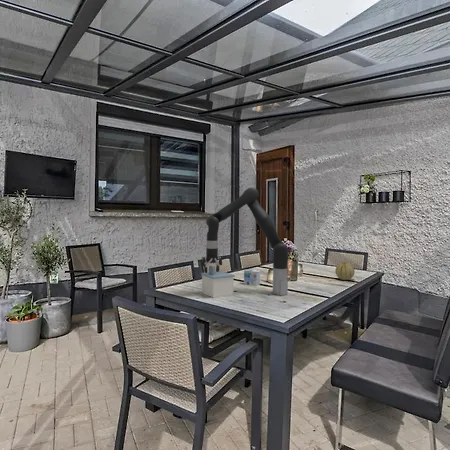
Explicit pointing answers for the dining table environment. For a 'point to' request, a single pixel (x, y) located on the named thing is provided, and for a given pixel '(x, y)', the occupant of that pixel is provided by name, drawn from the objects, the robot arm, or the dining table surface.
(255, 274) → the light bulb box
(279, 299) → the dining table surface
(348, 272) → the cantaloupe
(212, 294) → the tub
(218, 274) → the lid
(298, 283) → the dining table surface
